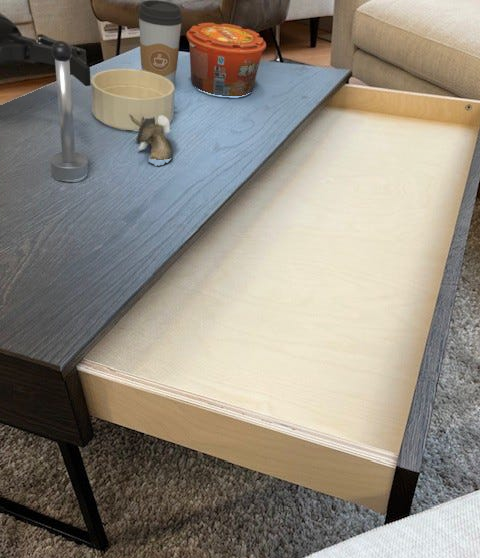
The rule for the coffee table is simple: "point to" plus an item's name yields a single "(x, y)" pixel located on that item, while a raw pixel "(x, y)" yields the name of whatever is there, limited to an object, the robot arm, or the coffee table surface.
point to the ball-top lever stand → (66, 120)
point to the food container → (224, 58)
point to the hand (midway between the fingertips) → (43, 81)
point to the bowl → (130, 97)
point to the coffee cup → (160, 37)
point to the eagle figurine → (154, 136)
